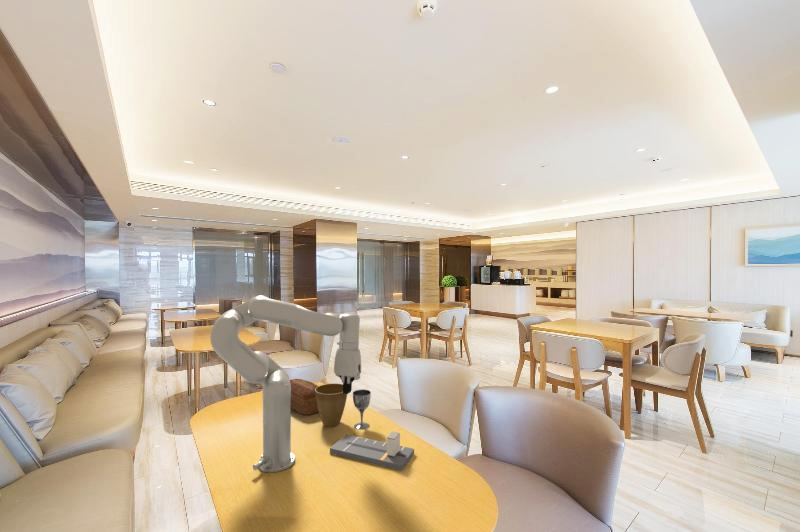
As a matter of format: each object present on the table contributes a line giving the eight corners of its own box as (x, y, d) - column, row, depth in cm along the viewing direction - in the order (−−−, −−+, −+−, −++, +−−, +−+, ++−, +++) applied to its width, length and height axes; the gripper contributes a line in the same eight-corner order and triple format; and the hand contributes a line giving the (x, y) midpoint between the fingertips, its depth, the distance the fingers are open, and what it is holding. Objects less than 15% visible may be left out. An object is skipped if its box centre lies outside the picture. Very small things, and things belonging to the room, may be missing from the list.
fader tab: (394, 456, 127) (394, 438, 127) (386, 454, 128) (386, 437, 128) (399, 449, 132) (399, 432, 132) (392, 448, 133) (392, 431, 133)
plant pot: (345, 431, 152) (344, 394, 152) (311, 430, 152) (311, 394, 152) (350, 416, 167) (350, 382, 167) (319, 416, 167) (319, 382, 167)
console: (402, 471, 122) (402, 464, 122) (329, 453, 134) (329, 447, 134) (414, 454, 133) (414, 448, 133) (346, 439, 145) (346, 433, 145)
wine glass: (349, 427, 155) (349, 393, 155) (359, 420, 162) (359, 388, 162) (364, 431, 152) (364, 396, 152) (374, 424, 159) (373, 391, 159)
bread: (304, 419, 164) (303, 393, 164) (276, 402, 184) (276, 379, 184) (329, 410, 174) (329, 386, 174) (300, 395, 194) (300, 373, 194)
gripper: (327, 345, 136) (325, 392, 136) (360, 349, 130) (358, 399, 130) (338, 341, 143) (336, 386, 143) (370, 346, 137) (368, 393, 137)
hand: (347, 392), depth 136 cm, fingers closed
